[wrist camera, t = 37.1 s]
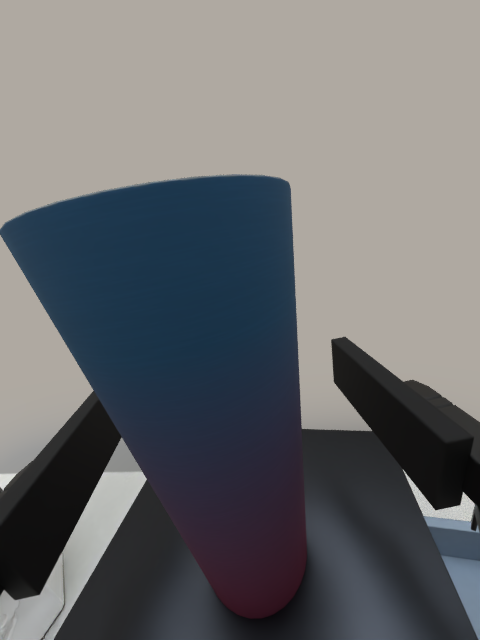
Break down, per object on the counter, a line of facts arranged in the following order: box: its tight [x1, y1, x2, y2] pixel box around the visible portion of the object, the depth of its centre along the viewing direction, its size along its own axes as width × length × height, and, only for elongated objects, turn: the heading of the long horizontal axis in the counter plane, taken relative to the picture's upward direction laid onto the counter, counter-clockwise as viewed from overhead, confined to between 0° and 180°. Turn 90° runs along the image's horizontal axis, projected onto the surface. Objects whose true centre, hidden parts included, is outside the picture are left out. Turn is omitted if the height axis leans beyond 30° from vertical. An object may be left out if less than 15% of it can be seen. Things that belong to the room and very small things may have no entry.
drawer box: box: [54, 429, 478, 640], centre depth 13 cm, size 16×14×11 cm
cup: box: [0, 174, 307, 619], centre depth 9 cm, size 7×7×15 cm
